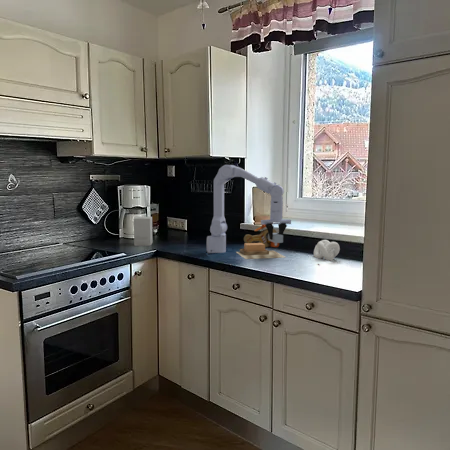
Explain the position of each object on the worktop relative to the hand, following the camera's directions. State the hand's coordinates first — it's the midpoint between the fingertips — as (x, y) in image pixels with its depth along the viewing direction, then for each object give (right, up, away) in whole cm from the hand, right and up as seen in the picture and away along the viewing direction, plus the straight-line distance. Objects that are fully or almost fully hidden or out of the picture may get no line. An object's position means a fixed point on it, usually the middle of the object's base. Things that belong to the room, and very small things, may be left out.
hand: (275, 239), depth 202 cm
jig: (-7, -9, +2) cm, 11 cm away
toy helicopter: (-4, -6, +23) cm, 24 cm away
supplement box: (-69, -4, +31) cm, 75 cm away
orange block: (-10, -7, +6) cm, 13 cm away
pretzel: (+23, -10, -2) cm, 25 cm away
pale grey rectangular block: (0, -1, 0) cm, 1 cm away
